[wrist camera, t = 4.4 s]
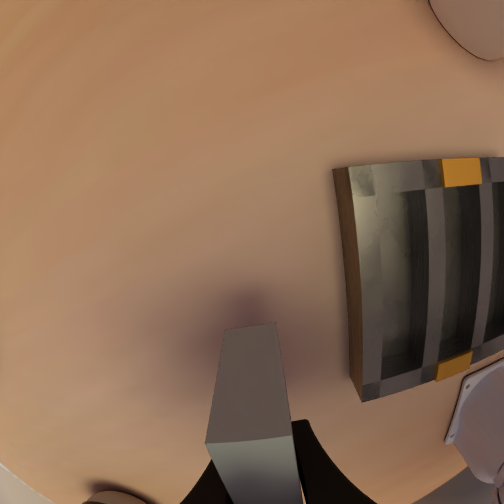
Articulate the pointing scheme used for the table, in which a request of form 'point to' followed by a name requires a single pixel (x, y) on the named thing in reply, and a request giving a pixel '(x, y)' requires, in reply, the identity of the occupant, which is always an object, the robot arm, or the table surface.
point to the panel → (253, 420)
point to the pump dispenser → (113, 498)
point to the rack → (421, 269)
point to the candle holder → (474, 25)
